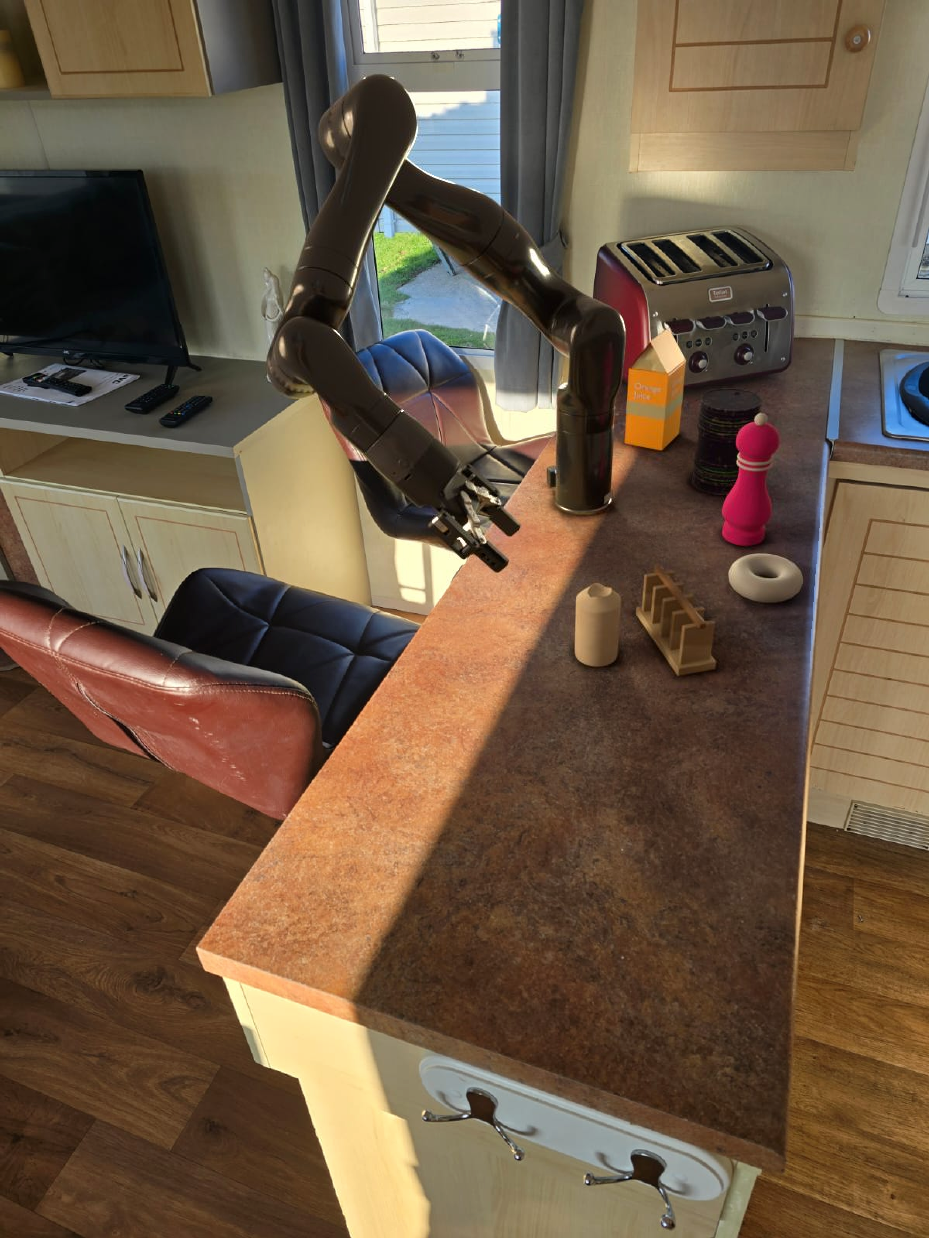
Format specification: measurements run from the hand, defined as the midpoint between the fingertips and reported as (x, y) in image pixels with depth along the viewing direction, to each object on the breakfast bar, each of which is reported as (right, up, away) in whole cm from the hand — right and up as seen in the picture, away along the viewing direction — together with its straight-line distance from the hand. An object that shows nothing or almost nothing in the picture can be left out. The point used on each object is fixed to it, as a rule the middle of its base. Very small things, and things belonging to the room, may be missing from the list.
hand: (510, 549), depth 104 cm
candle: (+12, -13, +6) cm, 19 cm away
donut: (+37, -4, +17) cm, 41 cm away
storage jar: (+39, +15, +44) cm, 60 cm away
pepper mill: (+38, +4, +29) cm, 47 cm away
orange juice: (+31, +26, +60) cm, 72 cm away
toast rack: (+22, -11, +8) cm, 26 cm away
